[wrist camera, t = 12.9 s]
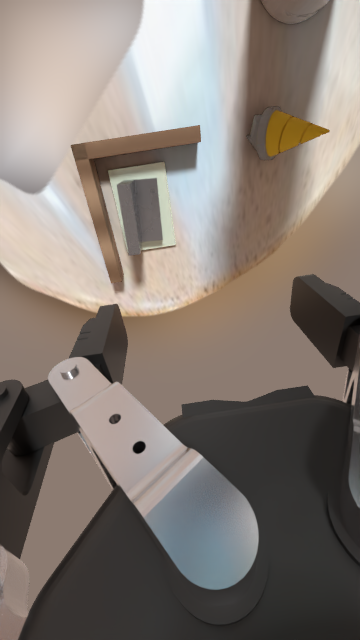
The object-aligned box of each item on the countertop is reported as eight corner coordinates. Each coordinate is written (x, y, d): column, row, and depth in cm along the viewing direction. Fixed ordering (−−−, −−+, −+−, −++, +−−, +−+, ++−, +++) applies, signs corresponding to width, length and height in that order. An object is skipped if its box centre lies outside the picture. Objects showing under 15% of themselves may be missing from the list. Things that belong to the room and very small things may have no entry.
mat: (108, 170, 35) (107, 170, 34) (164, 161, 35) (164, 161, 34) (127, 251, 41) (127, 252, 40) (175, 244, 41) (175, 244, 40)
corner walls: (77, 146, 33) (70, 145, 31) (196, 127, 33) (199, 125, 30) (113, 275, 42) (111, 283, 40) (206, 261, 42) (210, 268, 40)
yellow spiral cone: (251, 99, 32) (341, 86, 27) (257, 142, 37) (335, 139, 31) (231, 127, 31) (321, 120, 26) (240, 169, 35) (318, 170, 30)
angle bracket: (123, 180, 35) (116, 185, 29) (156, 177, 35) (156, 181, 29) (132, 240, 39) (128, 255, 33) (162, 237, 39) (164, 252, 34)
